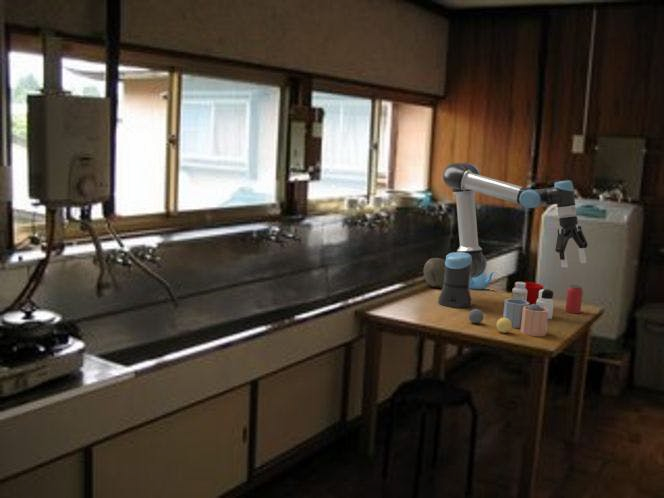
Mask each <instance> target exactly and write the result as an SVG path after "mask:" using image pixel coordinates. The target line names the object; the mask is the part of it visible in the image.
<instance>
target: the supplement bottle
mask: <svg viewBox="0 0 664 498" xmlns="http://www.w3.org/2000/svg"><path fill="white" fill-rule="evenodd" d="M523 282H524V281H516V282H514V287H513V288H512V290H511V299H519V300H524V301H527V289H525V287H526V283H523Z"/></svg>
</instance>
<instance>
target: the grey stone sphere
mask: <svg viewBox="0 0 664 498" xmlns="http://www.w3.org/2000/svg"><path fill="white" fill-rule="evenodd" d="M445 261H446V259H444V258H440V257H431V258H429V259H428V260H426V262H425V264H424V266H423V270H422V271H423V277H424V280H425V281H426V283H428V285H429V286H431V287H432V288H436V289H440V288H443V285H444V273H445Z"/></svg>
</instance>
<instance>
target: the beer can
mask: <svg viewBox="0 0 664 498" xmlns="http://www.w3.org/2000/svg"><path fill="white" fill-rule="evenodd" d="M583 291H584V290H583V287H582V286H580V285H574V284H569V286H568V289H567V292H566V293H567V294H566V303H565V311H566V313H568V314H580V313H581V309H582V301H583V294H584V293H583Z"/></svg>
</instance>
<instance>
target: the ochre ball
mask: <svg viewBox="0 0 664 498" xmlns="http://www.w3.org/2000/svg"><path fill="white" fill-rule="evenodd" d="M496 329H497V330H498V332H500V333H502V334H505V333H509V332H511V330H512V329H513V328H512V323H511V321H510V320H509V319H508V318H503V317H500V318H499V319H498V320H497V322H496Z"/></svg>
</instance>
